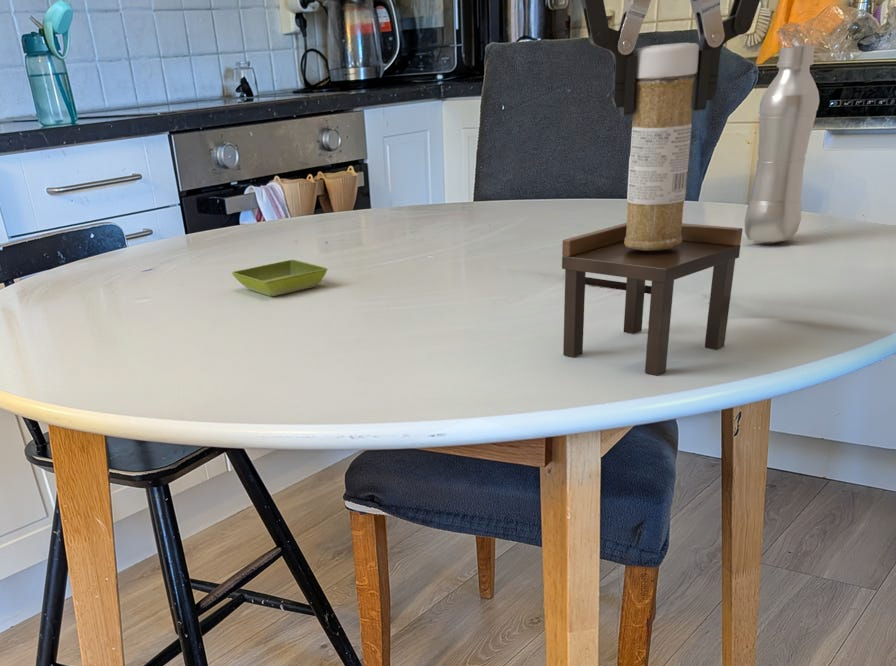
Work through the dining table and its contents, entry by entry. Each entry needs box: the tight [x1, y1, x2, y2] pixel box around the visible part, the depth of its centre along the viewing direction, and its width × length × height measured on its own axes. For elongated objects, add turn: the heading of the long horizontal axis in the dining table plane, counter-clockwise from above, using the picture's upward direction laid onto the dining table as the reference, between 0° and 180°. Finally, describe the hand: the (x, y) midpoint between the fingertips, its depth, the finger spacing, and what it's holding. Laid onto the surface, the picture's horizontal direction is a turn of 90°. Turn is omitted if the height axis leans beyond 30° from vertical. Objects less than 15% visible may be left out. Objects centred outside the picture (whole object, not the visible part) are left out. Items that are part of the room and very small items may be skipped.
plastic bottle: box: [744, 44, 820, 245], centre depth 101 cm, size 6×7×20 cm
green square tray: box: [231, 259, 328, 297], centre depth 104 cm, size 9×9×2 cm
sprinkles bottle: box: [624, 42, 700, 251], centre depth 66 cm, size 5×5×13 cm
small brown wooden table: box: [561, 222, 743, 376], centre depth 72 cm, size 10×10×9 cm
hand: (662, 111), depth 65 cm, fingers closed on sprinkles bottle, 4 cm apart
